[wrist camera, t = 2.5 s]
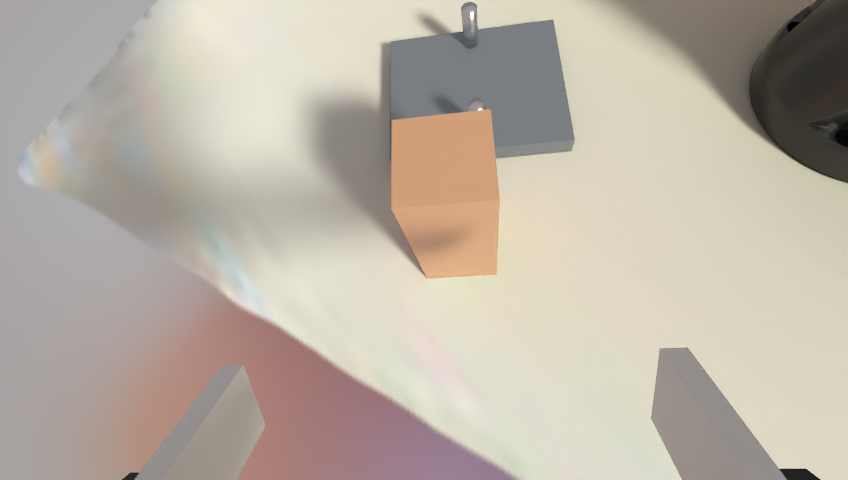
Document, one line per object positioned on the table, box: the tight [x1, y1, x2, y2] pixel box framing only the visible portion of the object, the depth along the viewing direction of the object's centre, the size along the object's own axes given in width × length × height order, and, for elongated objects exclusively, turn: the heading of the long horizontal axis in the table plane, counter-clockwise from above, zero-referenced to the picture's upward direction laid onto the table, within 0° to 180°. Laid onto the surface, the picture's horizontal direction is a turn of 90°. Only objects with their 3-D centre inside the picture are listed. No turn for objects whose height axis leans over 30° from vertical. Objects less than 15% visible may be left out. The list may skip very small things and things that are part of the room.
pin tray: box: [390, 2, 575, 160], centre depth 34 cm, size 14×12×5 cm
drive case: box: [391, 109, 500, 279], centre depth 26 cm, size 5×5×12 cm
